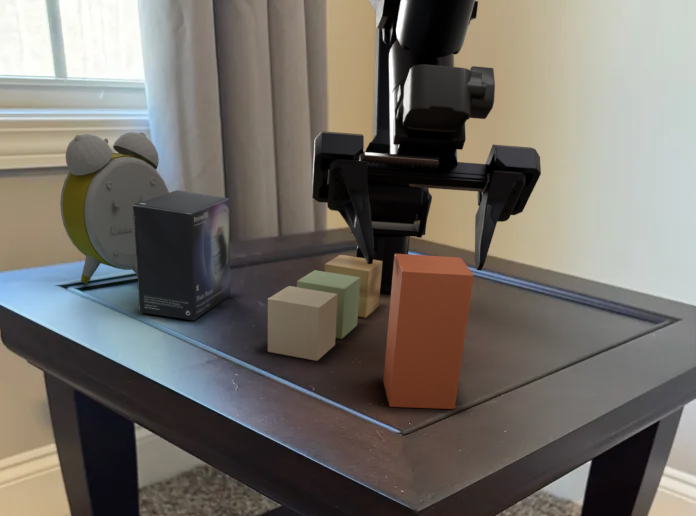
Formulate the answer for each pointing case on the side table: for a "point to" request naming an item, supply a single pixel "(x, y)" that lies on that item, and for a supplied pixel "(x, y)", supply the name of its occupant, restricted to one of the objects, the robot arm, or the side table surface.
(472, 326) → the side table surface
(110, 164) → the alarm clock
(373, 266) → the cube
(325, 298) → the cube
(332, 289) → the cube
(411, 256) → the tall block
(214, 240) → the small box
